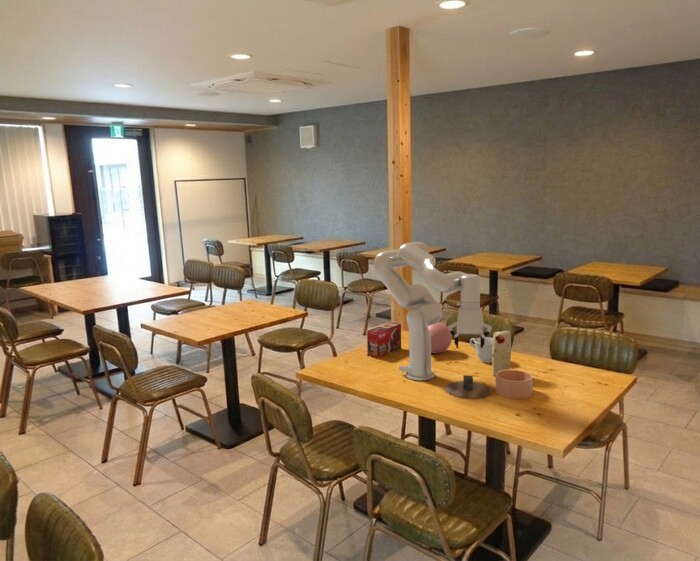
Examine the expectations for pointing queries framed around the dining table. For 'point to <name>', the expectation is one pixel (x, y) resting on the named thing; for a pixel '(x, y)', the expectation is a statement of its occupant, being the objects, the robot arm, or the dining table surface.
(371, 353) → the ice cream box
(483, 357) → the teacup
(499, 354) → the food model
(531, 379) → the bowl
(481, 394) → the lid
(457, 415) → the dining table surface
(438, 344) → the balloon
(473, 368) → the dining table surface
